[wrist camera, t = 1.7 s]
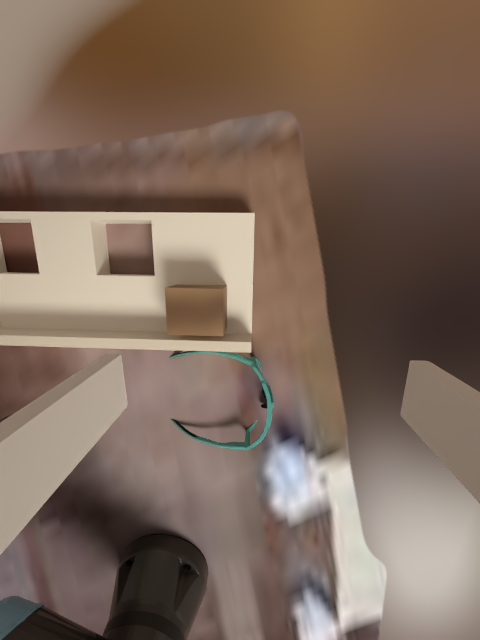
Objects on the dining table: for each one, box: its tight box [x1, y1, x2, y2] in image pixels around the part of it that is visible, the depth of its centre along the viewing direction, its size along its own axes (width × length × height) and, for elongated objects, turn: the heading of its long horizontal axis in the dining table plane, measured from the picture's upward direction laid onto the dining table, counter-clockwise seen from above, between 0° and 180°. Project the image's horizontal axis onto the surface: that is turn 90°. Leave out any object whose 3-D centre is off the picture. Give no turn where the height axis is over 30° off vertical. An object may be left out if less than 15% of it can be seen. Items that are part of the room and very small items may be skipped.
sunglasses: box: [170, 351, 274, 449], centre depth 34 cm, size 14×15×5 cm
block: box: [165, 284, 227, 336], centre depth 28 cm, size 5×6×4 cm
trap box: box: [0, 211, 255, 353], centre depth 29 cm, size 15×40×7 cm, turn 89°
